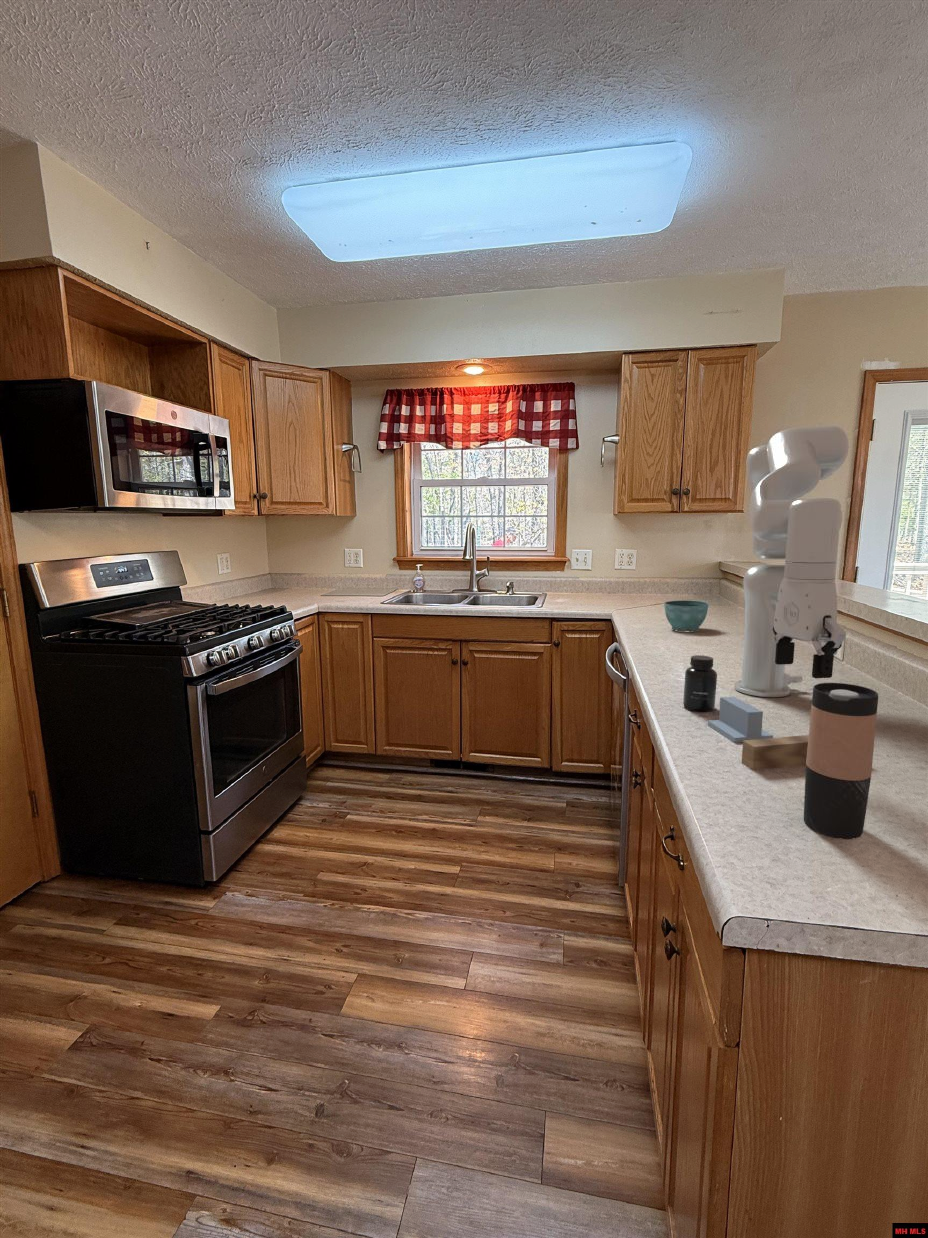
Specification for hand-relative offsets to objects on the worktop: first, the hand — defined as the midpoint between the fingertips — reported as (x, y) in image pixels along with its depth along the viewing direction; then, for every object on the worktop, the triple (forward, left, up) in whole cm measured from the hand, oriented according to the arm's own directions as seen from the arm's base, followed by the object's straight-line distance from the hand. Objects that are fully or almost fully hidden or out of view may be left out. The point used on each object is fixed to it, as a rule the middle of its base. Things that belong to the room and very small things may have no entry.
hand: (802, 670), depth 101 cm
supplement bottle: (+1, -31, -17) cm, 35 cm away
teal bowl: (-41, -120, -17) cm, 128 cm away
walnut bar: (-1, 0, -17) cm, 17 cm away
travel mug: (+9, +21, -17) cm, 29 cm away
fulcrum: (+1, -15, -17) cm, 23 cm away
